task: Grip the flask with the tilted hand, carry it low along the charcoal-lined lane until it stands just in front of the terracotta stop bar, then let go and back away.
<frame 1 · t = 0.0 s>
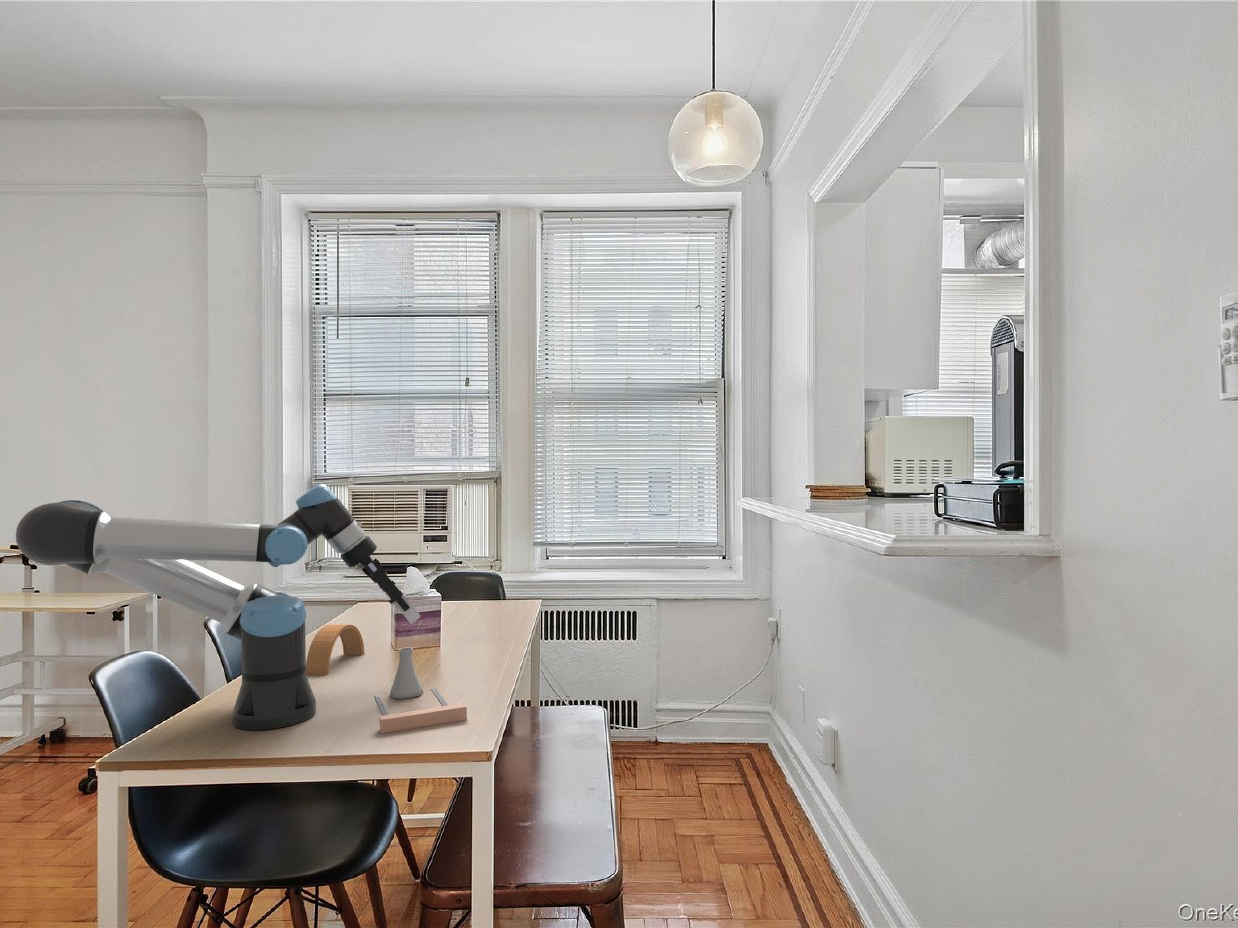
hand: (411, 615, 171), 15 cm above the table, tool tilted 35°, fingers open, 13 cm apart
arch: (336, 665, 187), on the table
stop bar lane: (414, 707, 151), on the table
flask: (406, 695, 160), on the table
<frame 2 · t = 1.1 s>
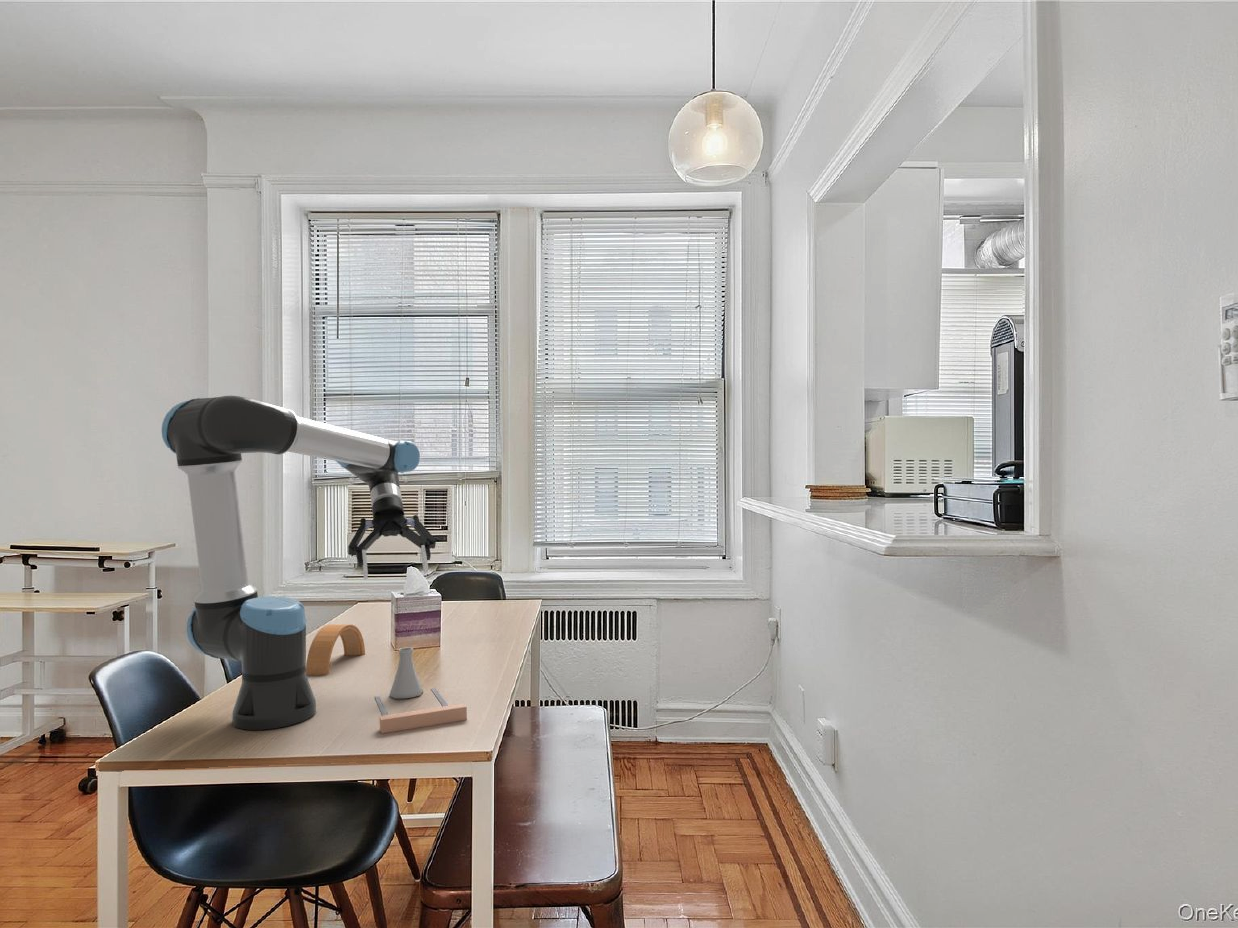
hand: (396, 572, 171), 25 cm above the table, tool tilted 45°, fingers open, 13 cm apart
nothing on the table moved.
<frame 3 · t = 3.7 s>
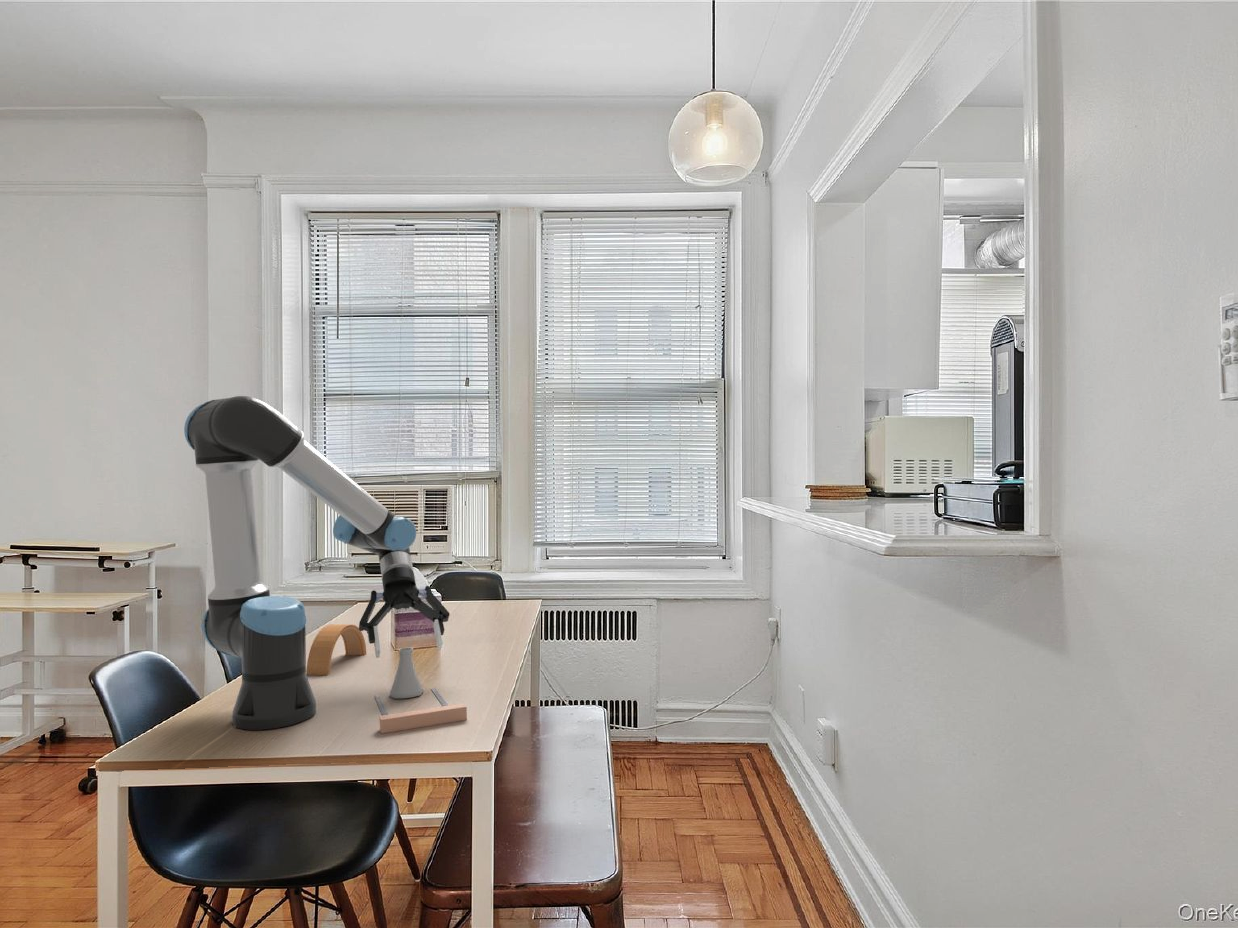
hand: (409, 650, 164), 9 cm above the table, tool tilted 45°, fingers open, 13 cm apart
nothing on the table moved.
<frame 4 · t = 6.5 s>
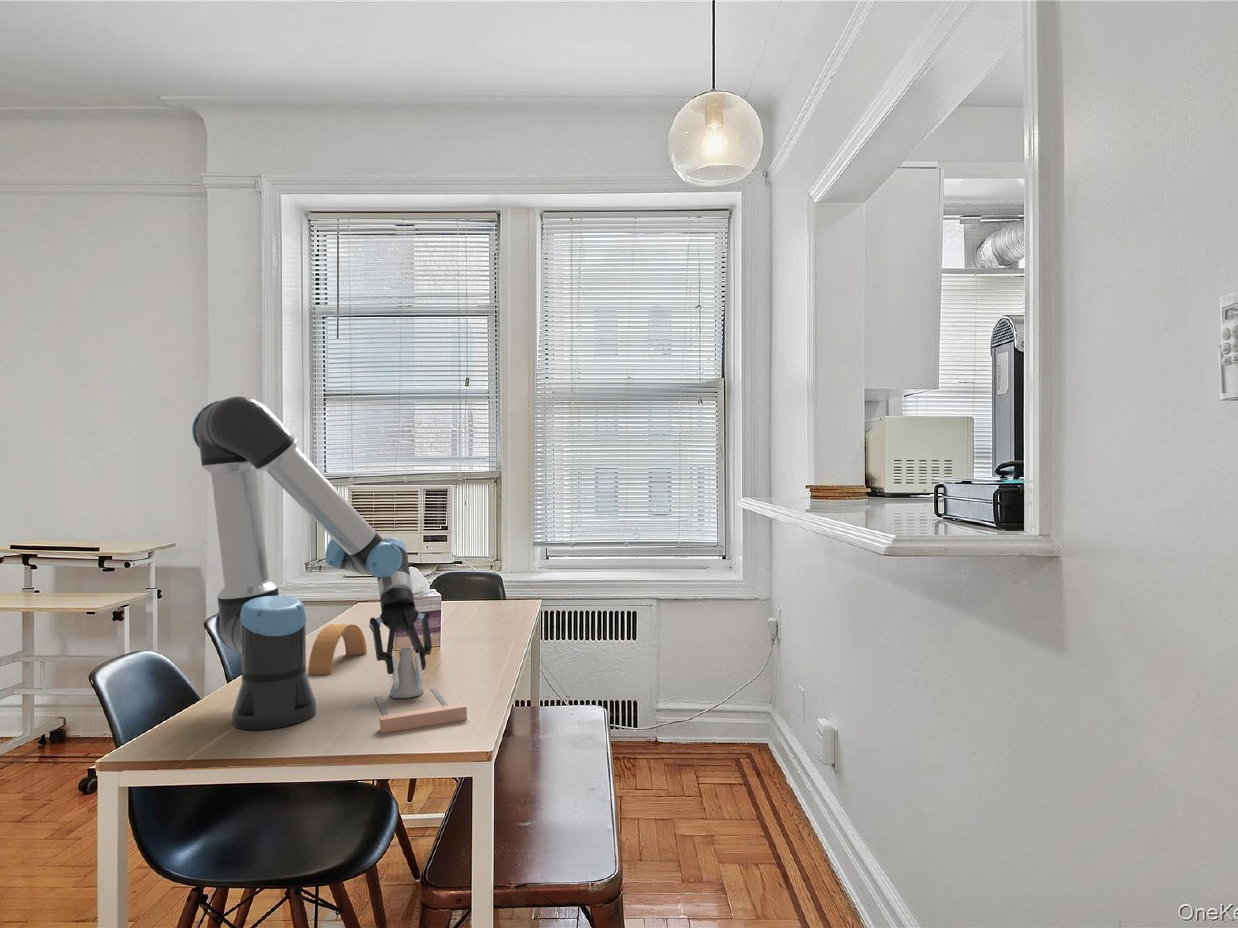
hand: (409, 683, 156), 3 cm above the table, tool tilted 45°, fingers closed on flask, 4 cm apart
flask: (406, 695, 160), on the table, touching gripper
everything else where it was.
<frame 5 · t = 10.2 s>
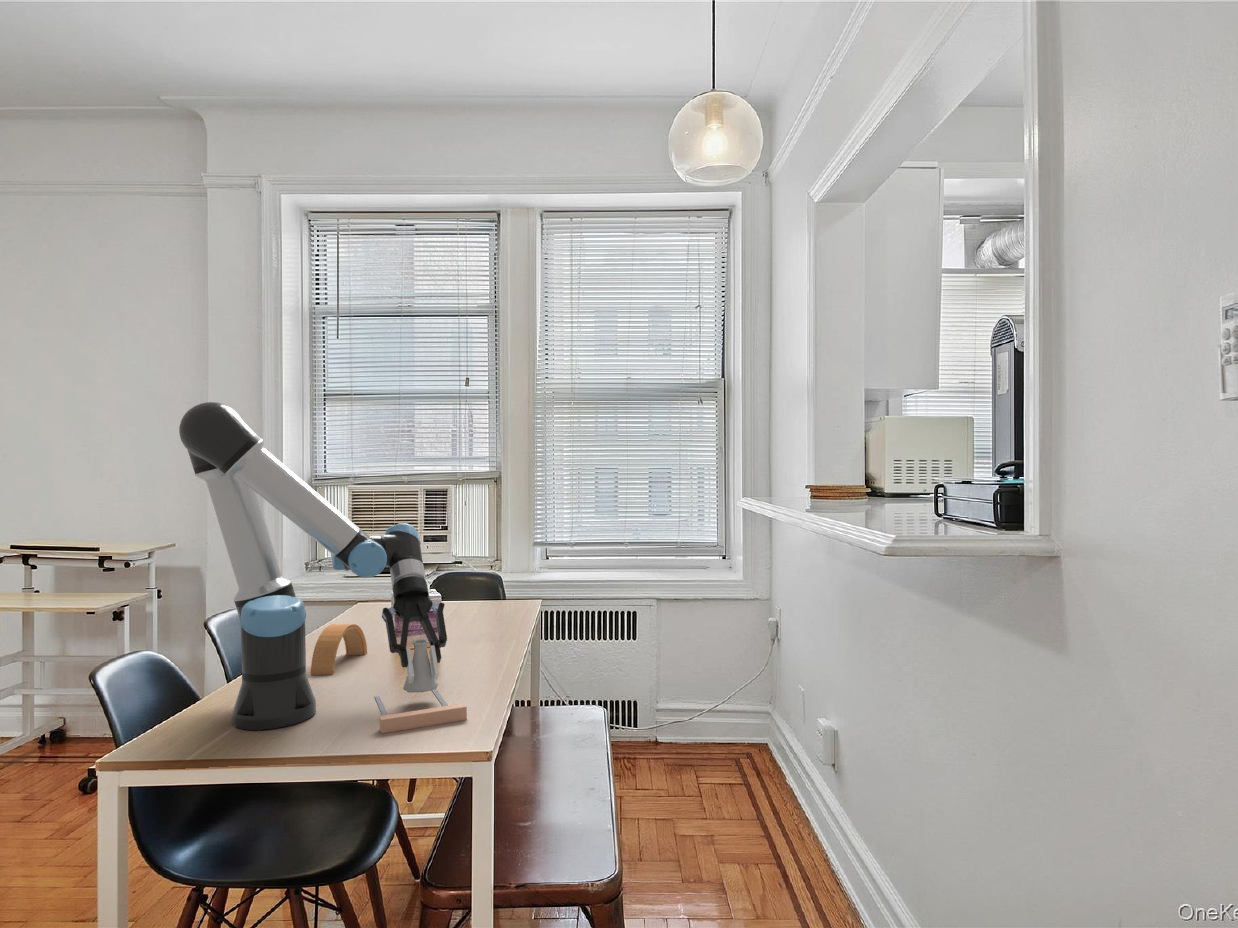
hand: (424, 677, 150), 6 cm above the table, tool tilted 40°, fingers closed on flask, 4 cm apart
flask: (420, 688, 154), point 3 cm above the table, touching gripper
everything else where it was.
when the fingers open (5 cm above the table, at t = 14.3 s): flask drops 1 cm, on the table.
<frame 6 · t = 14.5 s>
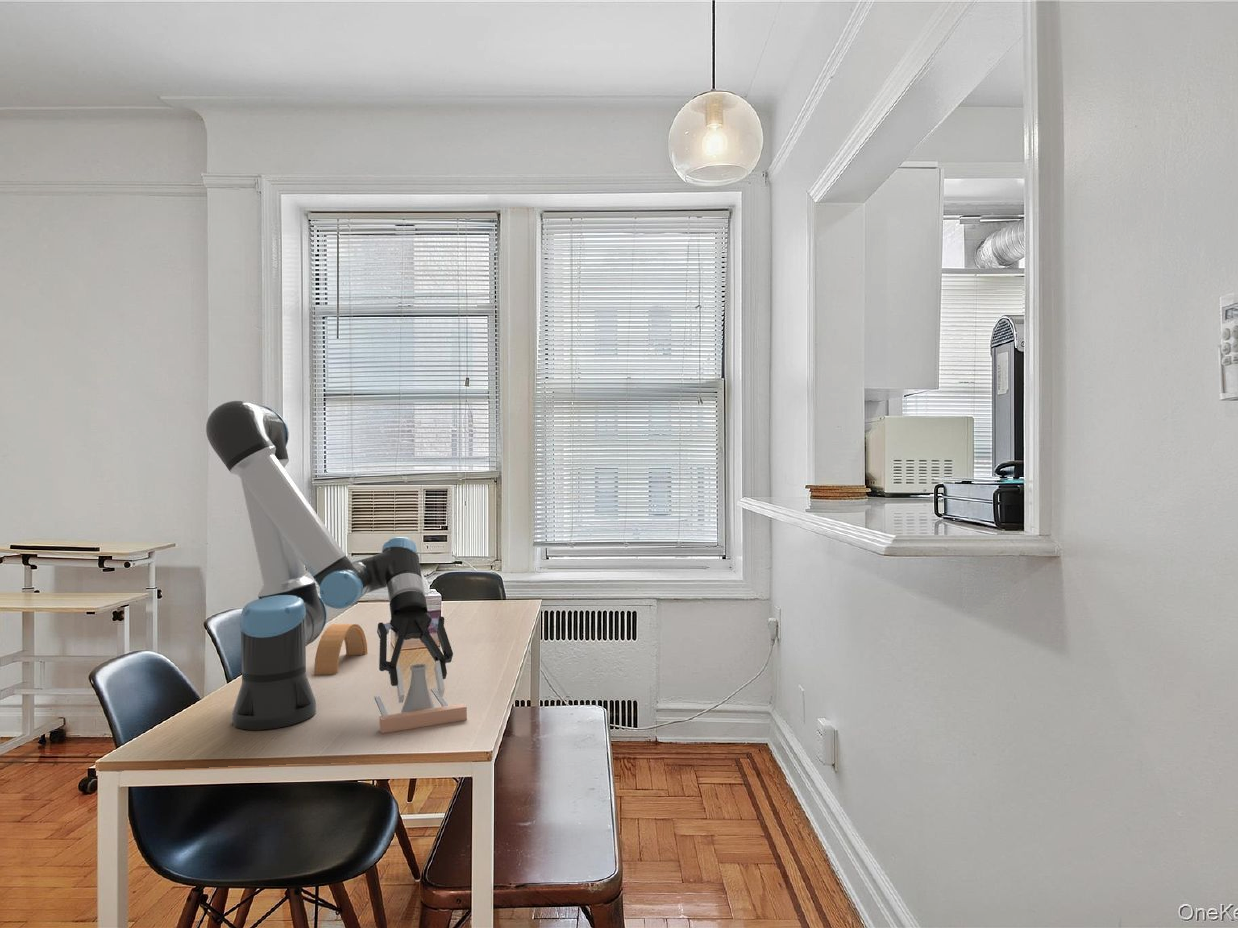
hand: (421, 695, 142), 5 cm above the table, tool tilted 45°, fingers open, 7 cm apart
flask: (418, 717, 145), on the table
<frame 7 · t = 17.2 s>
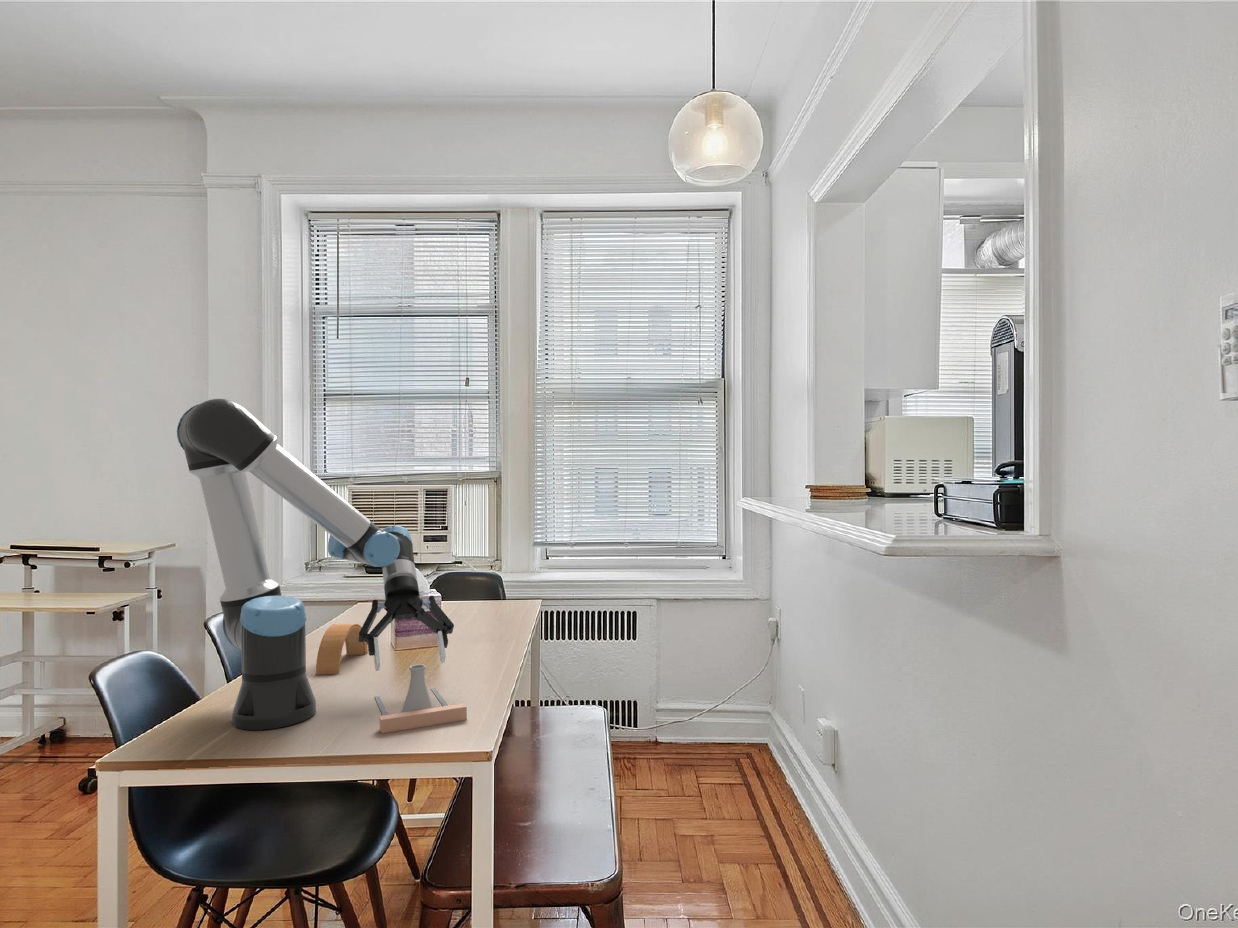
hand: (411, 663, 156), 8 cm above the table, tool tilted 45°, fingers open, 13 cm apart
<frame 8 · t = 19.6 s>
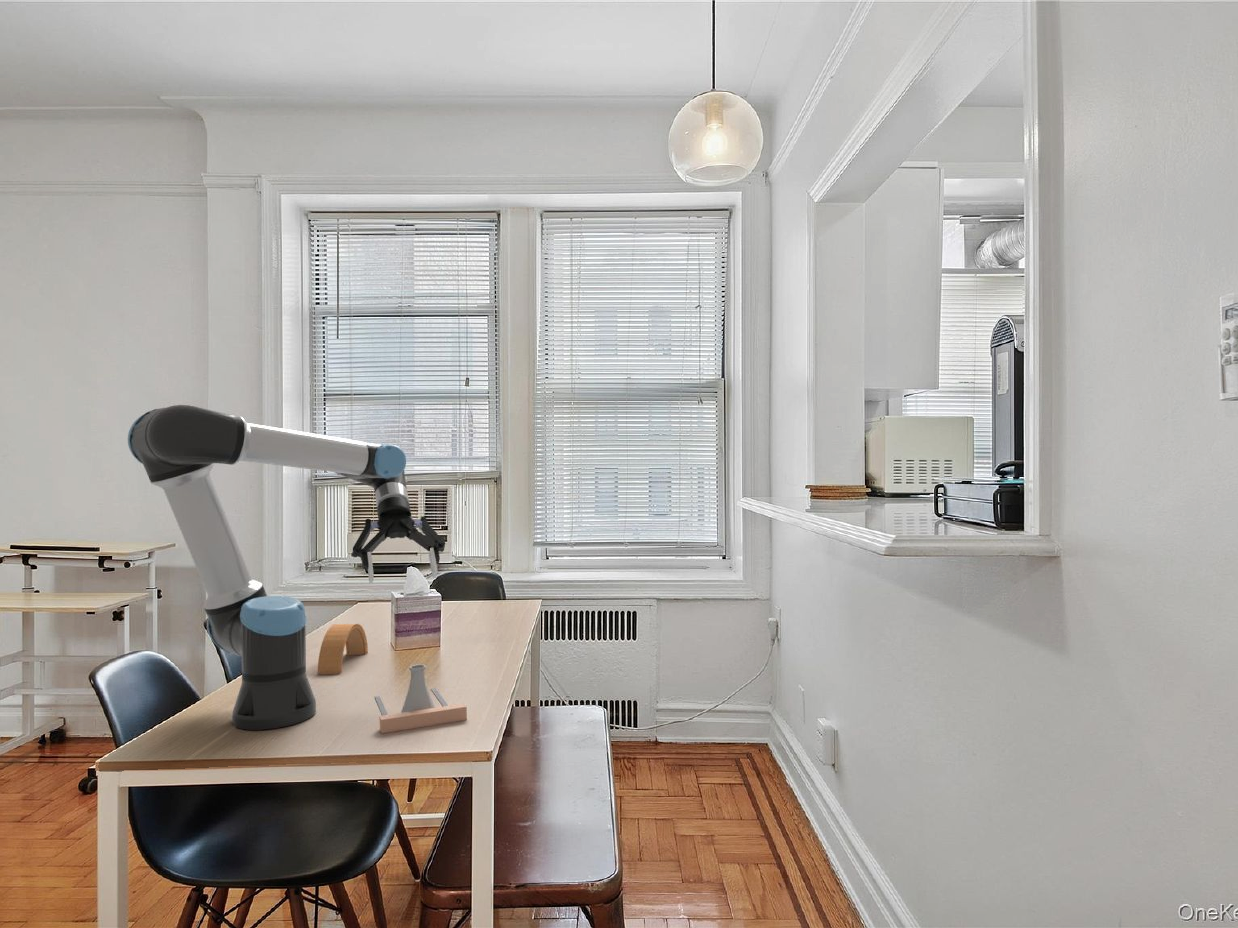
hand: (403, 576, 161), 26 cm above the table, tool tilted 45°, fingers open, 13 cm apart
at the end: flask 0.2 cm from the target spot, on the table; flask tilted 0°; the gripper is holding nothing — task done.
